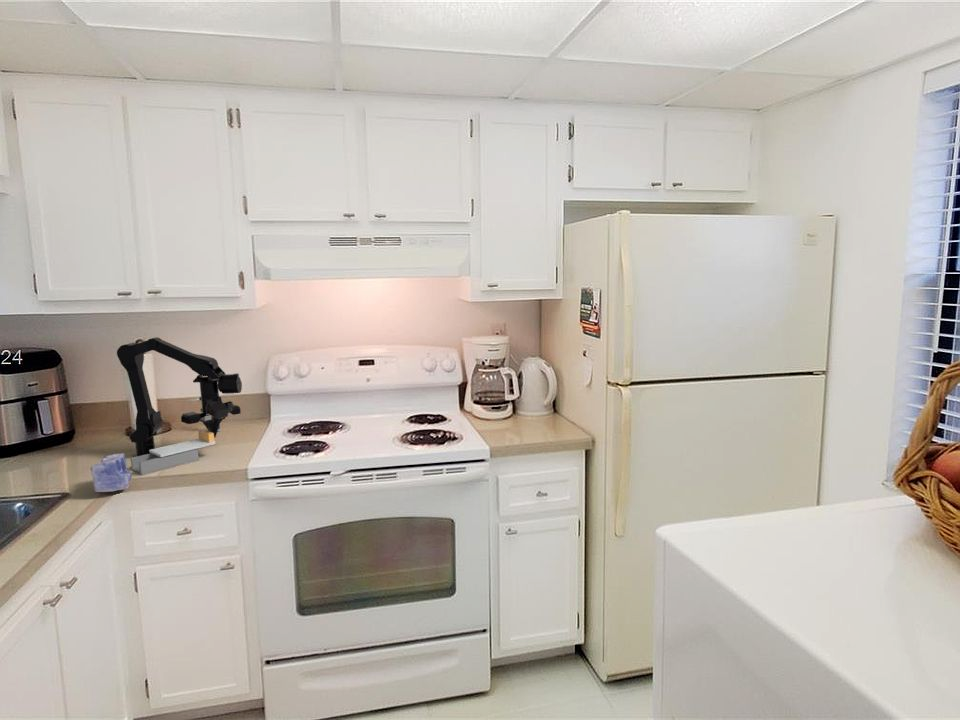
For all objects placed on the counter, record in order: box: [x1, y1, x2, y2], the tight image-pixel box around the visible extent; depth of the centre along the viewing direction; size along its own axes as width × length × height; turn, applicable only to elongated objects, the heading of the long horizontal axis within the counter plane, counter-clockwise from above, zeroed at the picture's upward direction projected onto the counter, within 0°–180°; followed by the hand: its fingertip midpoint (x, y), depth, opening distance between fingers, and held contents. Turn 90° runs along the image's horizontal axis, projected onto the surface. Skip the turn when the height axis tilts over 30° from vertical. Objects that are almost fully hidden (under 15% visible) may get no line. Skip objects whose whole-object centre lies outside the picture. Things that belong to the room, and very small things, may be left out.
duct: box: [130, 448, 200, 476], centre depth 196 cm, size 8×18×4 cm, turn 140°
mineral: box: [90, 452, 133, 493], centre depth 175 cm, size 14×10×10 cm, turn 24°
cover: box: [149, 429, 216, 457], centre depth 200 cm, size 9×18×4 cm, turn 140°
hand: (213, 437), depth 208 cm, fingers closed
